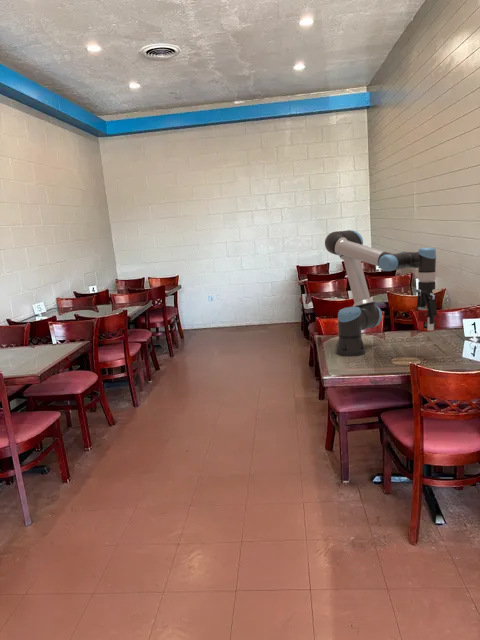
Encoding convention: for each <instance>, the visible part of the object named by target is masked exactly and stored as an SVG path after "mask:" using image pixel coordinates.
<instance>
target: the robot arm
mask: <svg viewBox="0 0 480 640" xmlns="http://www.w3.org/2000/svg"><path fill="white" fill-rule="evenodd" d="M324 247H325V249H326V251H328V253H330V254H333V255H335V256H338V257H339V258H340V259H341V260H342V261H343V263H344V267H345V272H346V276H347V279H348V283H349V287H350V290H351V295H352V299H353V302H354V303H353V305H352V306H349V307H344V308H342V309H341V308H340V309H339V310H338V312H337V325H338V326H337V327H338V340H337V344H336V345H335V346H336V347H335V354H337V355H339V356H344V357H346V356H347V357H353V356H354V357H356V356H361V355H364V354H366V347H365V343H364V341H363V339H362V338H363V337H362V331H364V330H368V329H372V328H375V327H377V326H379V325H380V323H381V321H382V320H383V313H382V309H381V308H380V307H379V306H378V305H376V304H375V301H374V300H373V299H371V297H370V296H371V295H370V291H369V289H368V283H367V280H366V276H365V273H364V269H363V266H362V262H363V263H367V264H370V265H373V266H377V267H379V268H380V269H381V270H382V271H383V272H392V271H396V270H403V269H417V270H418V273H417V280H418V282H417V288H418V290H419V291H417V300H416V301H417V302H416V308H415V309H416V312H418V307H424V306H427V309H428V315H429V316H427V317H428V323H427V331H431V332H433V331H432V330H434V331H435V329H434V317H435V318H436V317H437V316H438V312H437V310H438V309H437V294H434V292H433V291H434V290H436V281H435V280H436V276H437V272H436V271H437V270H436V265H437V264H436V263H437V262H436V261H437V252H436V251H437V250H436V248H434V247H420V248H418V251H417V252H415V251H413V252H412V251H399V252H397V253H391V252H387V251H385V250H381V249H379V248H378V249H377V248H376V247H375V248H374V247H370V246H368V245H364V239H363V237H362V235H361V233H359V232H358V231H357V230H349V229H348V230H341V231H336V230H335V231H332V232H330V233H329V234H327V236H326V237H325V240H324Z"/></svg>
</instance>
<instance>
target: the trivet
mask: <svg viewBox="0 0 480 640" xmlns="http://www.w3.org/2000/svg"><path fill="white" fill-rule="evenodd" d="M409 362H414V363H416V364H419V365H421V363H422V362H421V359H419V358H416V357H410V356H401V357H400V356H399V357H394V358H392V359H391V364H393V365H395V366H401V367H409V366H408V363H409Z"/></svg>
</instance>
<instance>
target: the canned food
mask: <svg viewBox="0 0 480 640" xmlns="http://www.w3.org/2000/svg"><path fill="white" fill-rule="evenodd" d="M427 316H429V315H428V309H427V305H426V306H424V307H418V311H417V331H419V332H425V333H430V332H434V331H435V328H436V316H435V317H434V330H432V331H427V323H428V317H427Z"/></svg>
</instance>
